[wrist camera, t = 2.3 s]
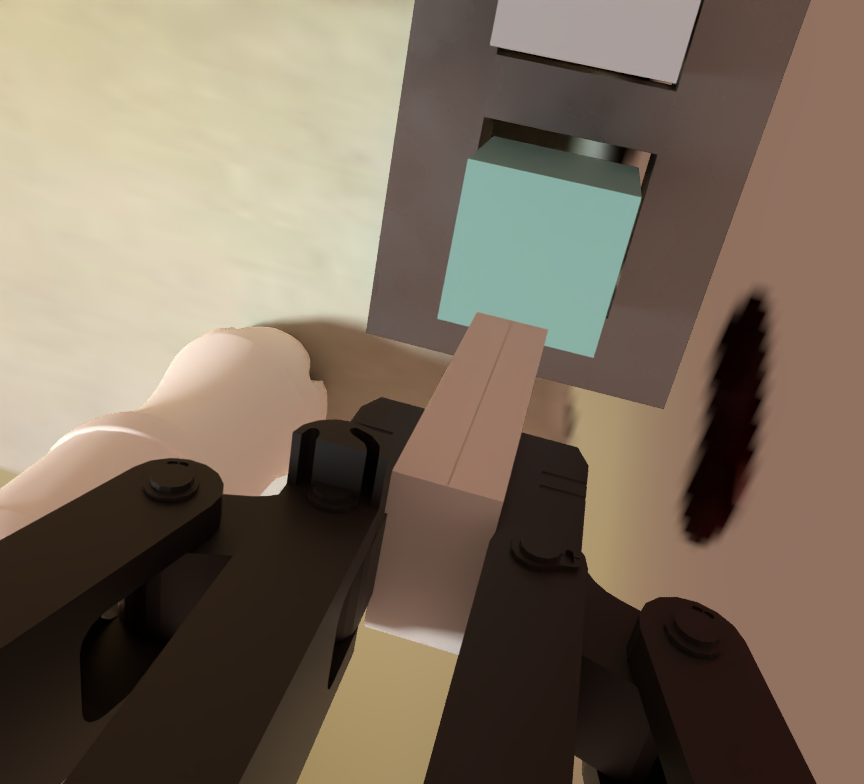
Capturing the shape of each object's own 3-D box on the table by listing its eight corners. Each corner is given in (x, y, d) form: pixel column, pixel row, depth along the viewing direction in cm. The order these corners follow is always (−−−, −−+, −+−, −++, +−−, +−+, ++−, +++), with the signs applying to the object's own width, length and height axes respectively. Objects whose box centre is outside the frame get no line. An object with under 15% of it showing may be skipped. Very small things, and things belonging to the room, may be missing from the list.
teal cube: (493, 135, 26) (468, 158, 22) (638, 167, 26) (641, 197, 22) (465, 273, 29) (437, 318, 24) (598, 305, 28) (593, 357, 24)
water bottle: (368, 422, 36) (-23, 1035, 14) (246, 463, 39) (-242, 1036, 17) (296, 285, 34) (-294, 760, 12) (172, 338, 37) (-499, 809, 15)
